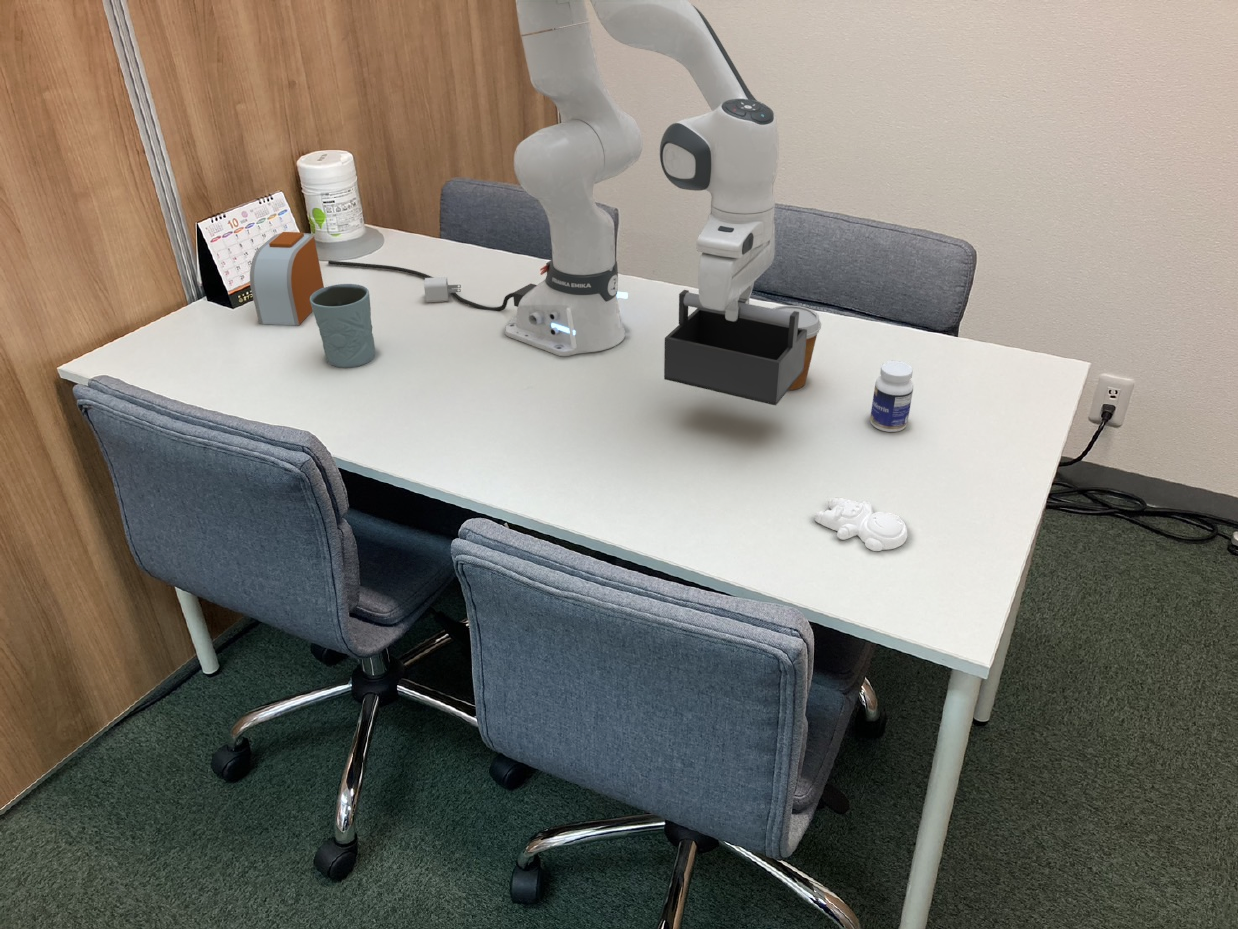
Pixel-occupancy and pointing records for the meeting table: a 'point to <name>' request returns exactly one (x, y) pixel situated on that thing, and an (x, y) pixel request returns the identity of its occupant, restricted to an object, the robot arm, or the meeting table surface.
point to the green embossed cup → (344, 324)
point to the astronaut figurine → (863, 524)
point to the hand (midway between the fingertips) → (736, 314)
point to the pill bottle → (892, 397)
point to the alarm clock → (285, 278)
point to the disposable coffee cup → (812, 325)
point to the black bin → (736, 350)
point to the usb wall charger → (438, 289)
